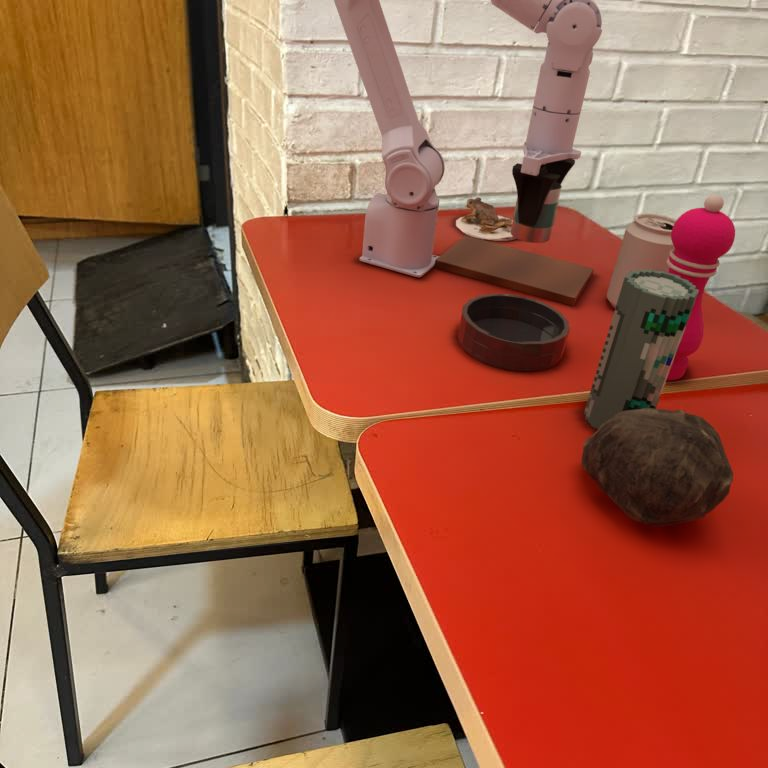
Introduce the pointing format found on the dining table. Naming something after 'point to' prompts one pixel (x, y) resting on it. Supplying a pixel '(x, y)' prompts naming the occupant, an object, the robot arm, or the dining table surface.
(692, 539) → the dining table surface
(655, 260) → the can
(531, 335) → the pan
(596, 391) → the can
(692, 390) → the dining table surface
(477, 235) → the frog figurine
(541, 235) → the tin can
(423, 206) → the robot arm
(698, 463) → the rock
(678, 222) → the pepper mill
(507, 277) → the board
